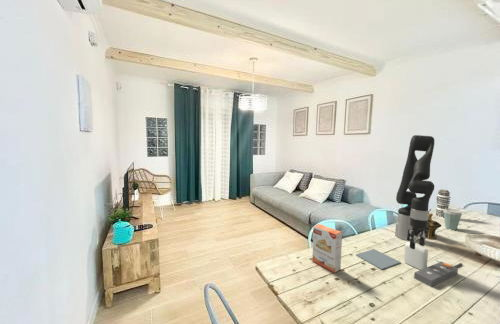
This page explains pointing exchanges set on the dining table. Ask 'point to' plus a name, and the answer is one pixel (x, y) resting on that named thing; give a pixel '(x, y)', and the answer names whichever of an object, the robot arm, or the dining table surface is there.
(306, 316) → the dining table surface
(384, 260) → the rubber mat
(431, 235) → the decorative box
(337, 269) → the cracker box
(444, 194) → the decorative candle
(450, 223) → the disposable coffee cup
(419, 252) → the photo printer
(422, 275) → the power strip
